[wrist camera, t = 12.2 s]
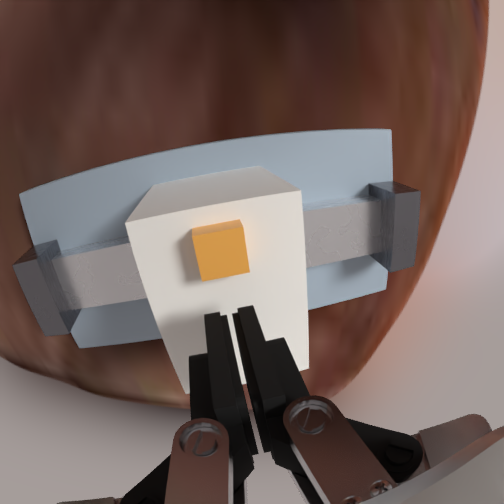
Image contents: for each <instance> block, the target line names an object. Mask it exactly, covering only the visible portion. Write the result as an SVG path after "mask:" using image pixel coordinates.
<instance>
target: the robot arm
mask: <svg viewBox="0 0 504 504" xmlns="http://www.w3.org/2000/svg"><path fill="white" fill-rule="evenodd" d="M237 311H238V312H237V313H232V317H233V322H234V327H235V332H236V337H237V342H238V347H239V352H240V357H241V361H242V366H243V371H244V375H245V379H246V384H247V388H248V392H249V396H250V400H251V404H252V408H253V412H254V416H255V420H256V424H257V428H258V431H259V435H260V439H261V443H262V447H263V450H264V452H270V451H271V455H272V458H273V459H274V461H275V464H277V465H279V466H281V467H284V468H286V469H288V472H289V474H290V475H291V478H292V479H293V481H294V483H295V485H296V486H297V488H298V490H299V492H300V494H301V496H302V497H303V499H304V501H305V503H306V504H504V426H502V427H500V428H497V429H495V430H493V431H492V429H491V427H490V425H489V423H488V422H487V420H486V419H485V418H484V417H482V416H481V415H478V414H469V415H466V416H463V417H460V418H458V419H455V420H452V421H449V422H446V423H443V424H440V425H437V426H434V427H430V428H427V429H424V430H420V431H419V432H418V433H417V434H414V435H411V436H410V435H407V434H404V433H400V432H396V431H392V430H388V429H384V428H380V427H376V426H372V425H368V424H365V423H362V422H358V421H355V420H351V419H348V418H345V417H344V416H343V414H342V413H341V412H340V410H339V409H338V408H337V406H335V404H334V403H333V402H332V401H330V400H329V399H326V398H324V397H321V396H316V395H315V396H310V394H309V392H308V390H307V388H306V385H305V383H304V381H303V379H302V376H301V374H300V372H299V370H298V367H297V365H296V363H295V360H294V358H293V356H292V354H291V351H290V349H289V347H288V345H287V342H286V340H285V338H284V337H282V338H277V339H273V340H269V341H266V340H265V337H264V334H263V332H262V329H261V326H260V323H259V320H258V317H257V315H256V312H255V309H254V306H253V305H250V306H245V307H240V308H237ZM204 323H205V334H206V344H207V353H203V354H197V355H191V356H189V387H190V407H191V421H188V422H186V423H185V424H183V425H182V426H181V427H180V428H179V429H178V431H177V432H176V433H175V436H174V439H173V445H172V452H171V454H170V456H168V457H167V458H166V459H165V460H164V461H163V462H162V463H161V464H160V465H159V466H157V467H156V468H155V469H154V470H153V471H152V472H151V473H150V474H149V475H147V476H146V477H145V478H144V479H143V480H142V481H141V482H139V483H138V484H137V485H136V486H135V487H134V488H132V489H131V490H130V491H129V492H128V493H126V494H125V496H124V497H123V498H117V499H115V498H113V497H108V498H100V499H92V500H82V501H69V502H60V503H57V504H247V481H246V478H247V477H248V476H249V474H250V473H251V472H252V471H253V469H254V465H253V463H254V461H253V457H252V455H255V454H258V449H257V445H256V442H255V437H254V433H253V429H252V425H251V421H250V417H249V412H248V408H247V404H246V400H245V395H244V391H243V386H242V382H241V378H240V373H239V369H238V364H237V360H236V355H235V351H234V346H233V342H232V337H231V332H230V328H229V323H228V318H227V315H222V316H221V315H220V312H215V313H209V314H204Z"/></svg>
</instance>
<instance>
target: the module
mask: <svg viewBox="0 0 504 504" xmlns="http://www.w3.org/2000/svg"><path fill="white" fill-rule="evenodd" d="M125 225H126V229H127V233H128V236H129V240H130V244H131V247H132V250H133V254H134V257H135V261H136V264H137V267H138V270H139V273H140V277H141V280H142V283H143V286H144V289H145V292H146V295H147V298H148V301H149V304H150V306H151V309H152V312H153V315H154V318H155V320H156V323H157V326H158V328H159V331H160V334H161V336H162V339H163V341H164V344H165V346H166V349H167V351H168V354H169V356H170V359H171V361H172V364H173V366H174V368H175V371H176V373H177V375H178V378H179V380H180V382H181V384H182V387H183V389H184V391H185V393H186V394H188V393H190V387H189V356H191V355H197V354H203V353H207V344H206V334H205V323H204V314H209V313H215V312H220V315H221V316H222V315H227V318H228V323H229V328H230V332H231V337H232V342H233V346H234V351H235V355H236V360H237V364H238V369H239V373H240V378H241V382H242V384H246V379H245V375H244V371H243V366H242V361H241V357H240V352H239V347H238V342H237V337H236V332H235V327H234V322H233V317H232V313H237V312H238V311H237V308H240V307H245V306H250V305H253V306H254V309H255V312H256V315H257V317H258V320H259V323H260V326H261V329H262V332H263V334H264V337H265V340H266V341H269V340H273V339H277V338H282V337H284V338H285V340H286V342H287V345H288V347H289V349H290V351H291V354H292V356H293V358H294V360H295V363H296V365H297V367H298V370H299V371H301V370H305V369H309V339H308V299H307V274H306V254H305V237H304V222H303V208H302V195H301V190H300V189H298V188H297V187H295V186H293V185H292V184H290V183H288V182H287V181H285V180H283V179H281V178H280V177H278V176H276V175H275V174H273V173H271V172H269V171H268V170H266V169H264V168H262V167H261V166H254V167H248V168H241V169H235V170H229V171H223V172H217V173H211V174H206V175H200V176H195V177H190V178H184V179H179V180H175V181H170V182H165V183H160V184H156V185H153V186H152V187H151V188H150V190H149V191H148V192H147V194H146V195H145V196H144V197H143V199H142V200H141V201H140V203H139V204H138V205H137V207H136V208H135V210H134V211H133V212H132V214H131V215H130V216H129V218H128V219H127V221H126V222H125Z"/></svg>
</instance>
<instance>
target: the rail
mask: <svg viewBox="0 0 504 504" xmlns="http://www.w3.org/2000/svg"><path fill="white" fill-rule="evenodd" d="M368 184H369V195H361V196H353V197H346V198H338V199H331V200H324V201H317V202H310V203H303V204H302V208H303V222H304V237H305V254H306V268H309V267H313V266H318V265H323V264H328V263H332V262H337V261H342V260H346V259H351V258H355V257H360V256H365V255H370V256H371V257H372V258H373V259H375V260H376V261H377V262H378V263H379V264H381V265H382V266H383V267H384V268H386V269H387V270H388V271H389V272H390V273H391V272H394V271H398V270H402V269H405V268H409V267H412V266H414V262H415V254H416V246H417V236H418V225H419V211H420V192H421V191H419V190H416V189H414V188H411V187H408V186H406V185H403V184H400V183H397V182H394V181H386V182H376V183H368ZM12 266H13V268H14V271H15V273H16V276H17V278H18V281H19V283H20V285H21V288H22V290H23V292H24V295H25V297H26V299H27V301H28V303H29V305H30V307H31V310H32V312H33V314H34V316H35V318H36V320H37V322H38V324H39V325H40V327H41V329H42V331H43V333H44V335H45V336H54V335H64V334H69V333H70V331H71V329H72V327H73V325H74V323H75V321H76V319H77V317H78V315H79V313H80V311H81V309H82V308H89V307H95V306H102V305H108V304H114V303H120V302H126V301H132V300H138V299H144V298H147V295H146V292H145V289H144V286H143V283H142V280H141V277H140V273H139V270H138V267H137V264H136V261H135V257H134V254H133V250H132V247H131V244H130V240H129V236H128V235H126V236H121V237H117V238H112V239H107V240H103V241H98V242H94V243H90V244H85V245H81V246H77V247H72V248H68V249H64V250H60V247H59V244H58V241H57V239H56V240H52V241H49V242H45V243H41V244H37V245H34V246H33V247H32V248H30V249H29V250H28V251H27V252H26V253H25V254H24V255H23V256H22V257H21V258H19V259H18V260H17V261H16V262H15V263H14V264H13V265H12Z"/></svg>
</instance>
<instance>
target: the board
mask: <svg viewBox="0 0 504 504" xmlns="http://www.w3.org/2000/svg"><path fill="white" fill-rule="evenodd" d="M254 166H261V167H262V168H264V169H266V170H268V171H269V172H271V173H273V174H275V175H276V176H278V177H280V178H281V179H283V180H285V181H287V182H288V183H290V184H292V185H293V186H295V187H297V188H298V189H300V190H301V195H302V204H303V203H310V202H317V201H324V200H331V199H338V198H346V197H353V196H361V195H369V184H368V183H376V182H386V181H393V170H392V137H391V130H390V129H335V130H315V131H301V132H289V133H278V134H268V135H259V136H251V137H243V138H235V139H228V140H222V141H215V142H209V143H203V144H197V145H192V146H186V147H181V148H176V149H171V150H166V151H161V152H156V153H152V154H147V155H143V156H139V157H134V158H130V159H126V160H122V161H118V162H115V163H111V164H107V165H103V166H100V167H96V168H93V169H89V170H86V171H82V172H79V173H76V174H73V175H69V176H66V177H63V178H60V179H57V180H54V181H51V182H48V183H45V184H42V185H40V186H37V187H34V188H31V189H29V190H27V191H25V192H22V193H20V194H19V196H20V200H21V204H22V208H23V211H24V215H25V219H26V222H27V225H28V229H29V232H30V235H31V238H32V241H33V244H34V245H37V244H41V243H45V242H49V241H52V240H56V239H57V241H58V244H59V247H60V250H64V249H68V248H72V247H77V246H81V245H85V244H90V243H94V242H98V241H103V240H107V239H112V238H117V237H121V236H126V235H128V233H127V229H126V225H125V222H126V221H127V219H128V218H129V216H130V215H131V214H132V212H133V211H134V210H135V208H136V207H137V205H138V204H139V203H140V201H141V200H142V199H143V197H144V196H145V195H146V194H147V192H148V191H149V190H150V188H151V187H152V186H153V185H156V184H160V183H165V182H170V181H175V180H179V179H184V178H190V177H195V176H200V175H206V174H211V173H217V172H223V171H229V170H235V169H241V168H248V167H254ZM306 274H307V299H308V310H310V309H314V308H318V307H322V306H326V305H330V304H334V303H338V302H342V301H345V300H349V299H353V298H357V297H360V296H364V295H368V294H371V293H375V292H378V291H382V290H385V289H386V284H387V275H388V270H387V269H386V268H384V267H383V266H382V265H381V264H379V263H378V262H377V261H376V260H375V259H373V258H372V257H371V256H370V255H365V256H360V257H355V258H351V259H346V260H342V261H337V262H332V263H328V264H323V265H318V266H313V267H309V268H306ZM70 332H71V334H72V336H73V338H74V339H75V341H76V343H77V345H78V347H79V348H88V347H98V346H107V345H116V344H124V343H132V342H139V341H146V340H154V339H160V338H162V336H161V334H160V331H159V328H158V326H157V323H156V320H155V318H154V315H153V312H152V309H151V306H150V304H149V301H148V298H144V299H138V300H132V301H126V302H120V303H114V304H108V305H102V306H95V307H89V308H82V309H81V311H80V313H79V315H78V317H77V319H76V321H75V323H74V325H73V327H72V329H71V331H70Z"/></svg>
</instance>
